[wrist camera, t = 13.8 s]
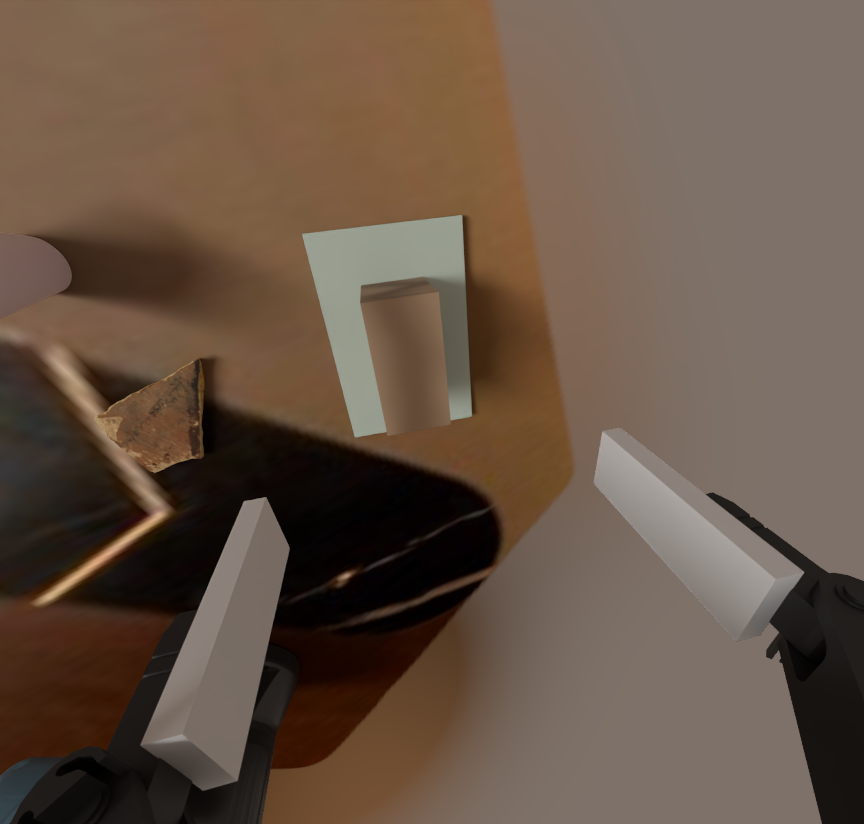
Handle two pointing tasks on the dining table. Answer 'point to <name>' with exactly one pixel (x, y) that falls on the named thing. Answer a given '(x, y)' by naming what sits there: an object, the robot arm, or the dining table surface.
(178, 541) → the dining table surface
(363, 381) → the felt mat
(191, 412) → the shard
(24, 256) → the smoothie
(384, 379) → the beige block
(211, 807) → the robot arm
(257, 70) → the dining table surface
